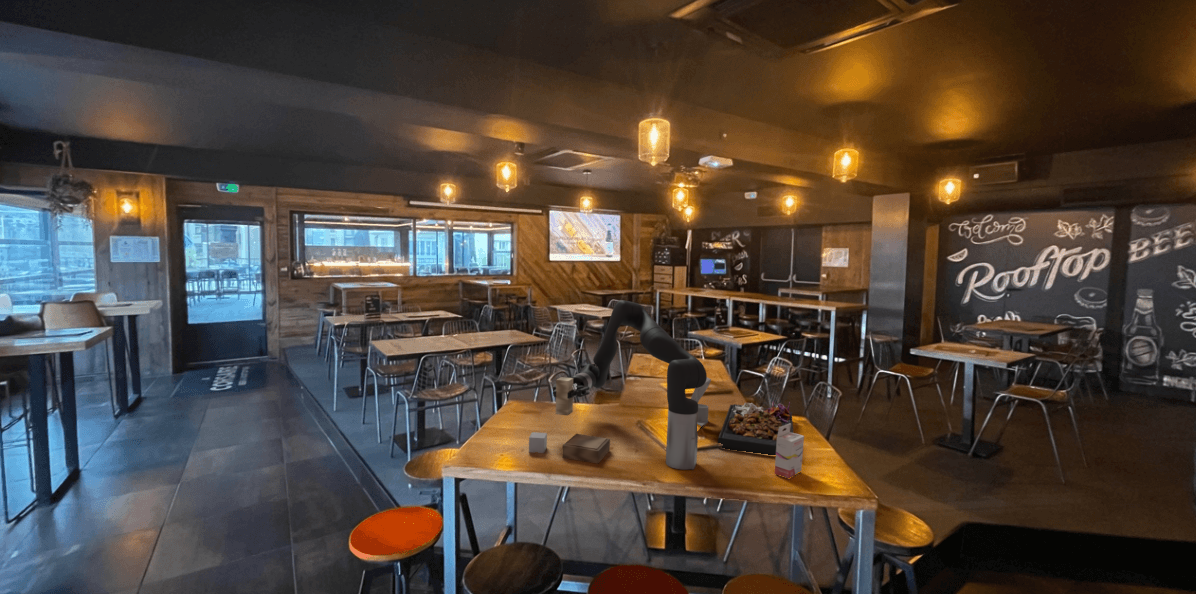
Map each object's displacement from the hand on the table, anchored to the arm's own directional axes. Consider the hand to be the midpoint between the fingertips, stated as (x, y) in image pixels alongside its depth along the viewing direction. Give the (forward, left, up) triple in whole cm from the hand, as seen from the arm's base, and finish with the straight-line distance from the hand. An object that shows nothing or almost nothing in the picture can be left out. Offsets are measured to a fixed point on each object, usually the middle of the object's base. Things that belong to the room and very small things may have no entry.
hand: (561, 394), depth 176 cm
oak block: (0, -3, -7) cm, 8 cm away
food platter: (-64, -39, -18) cm, 77 cm away
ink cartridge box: (-74, -4, -17) cm, 76 cm away
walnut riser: (-12, +6, -17) cm, 21 cm away
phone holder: (-39, -40, -17) cm, 58 cm away
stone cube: (+4, +9, -17) cm, 20 cm away
